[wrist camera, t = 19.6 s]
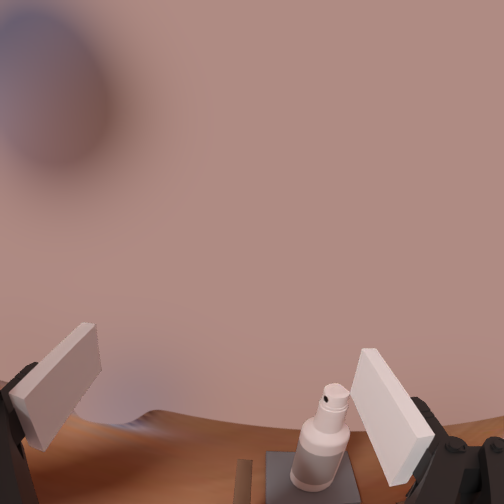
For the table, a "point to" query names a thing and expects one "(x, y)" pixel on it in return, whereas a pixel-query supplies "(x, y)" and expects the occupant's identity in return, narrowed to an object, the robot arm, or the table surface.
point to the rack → (247, 482)
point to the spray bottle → (322, 441)
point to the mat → (296, 500)
